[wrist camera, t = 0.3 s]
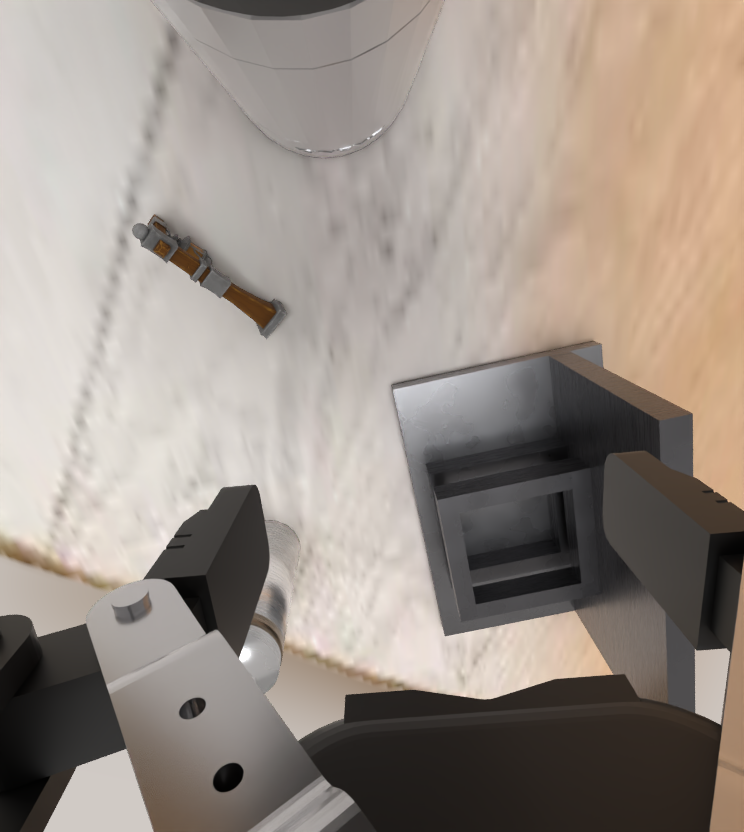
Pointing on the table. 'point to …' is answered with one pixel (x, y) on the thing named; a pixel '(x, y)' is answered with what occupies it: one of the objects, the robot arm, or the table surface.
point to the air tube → (272, 608)
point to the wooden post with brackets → (207, 273)
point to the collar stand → (543, 502)
